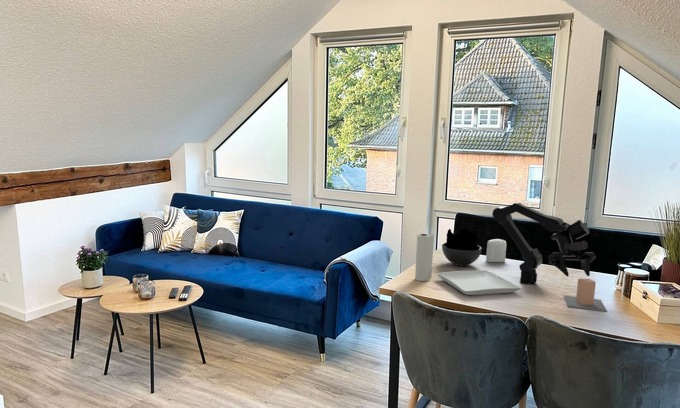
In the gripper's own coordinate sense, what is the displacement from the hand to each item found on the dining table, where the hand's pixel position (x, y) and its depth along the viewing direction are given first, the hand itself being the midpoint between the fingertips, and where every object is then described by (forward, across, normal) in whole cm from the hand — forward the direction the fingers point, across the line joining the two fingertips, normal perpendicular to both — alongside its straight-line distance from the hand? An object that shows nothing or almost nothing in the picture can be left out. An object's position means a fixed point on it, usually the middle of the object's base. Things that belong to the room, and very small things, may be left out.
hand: (578, 275), depth 201 cm
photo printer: (-35, -9, +50) cm, 61 cm away
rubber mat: (+11, 0, +3) cm, 11 cm away
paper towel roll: (-13, -58, +28) cm, 65 cm away
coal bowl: (-30, -30, +45) cm, 62 cm away
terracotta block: (+11, 0, +3) cm, 11 cm away
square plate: (-5, -36, +21) cm, 42 cm away
